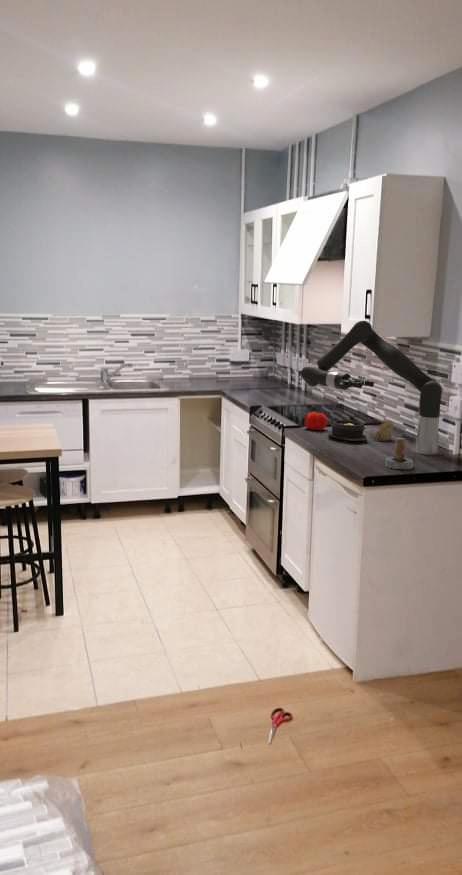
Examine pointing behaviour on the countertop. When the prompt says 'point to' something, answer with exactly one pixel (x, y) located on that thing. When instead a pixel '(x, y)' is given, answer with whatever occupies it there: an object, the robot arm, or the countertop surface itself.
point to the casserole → (347, 430)
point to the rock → (384, 432)
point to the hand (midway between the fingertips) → (367, 385)
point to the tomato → (315, 421)
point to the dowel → (399, 449)
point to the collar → (398, 463)
